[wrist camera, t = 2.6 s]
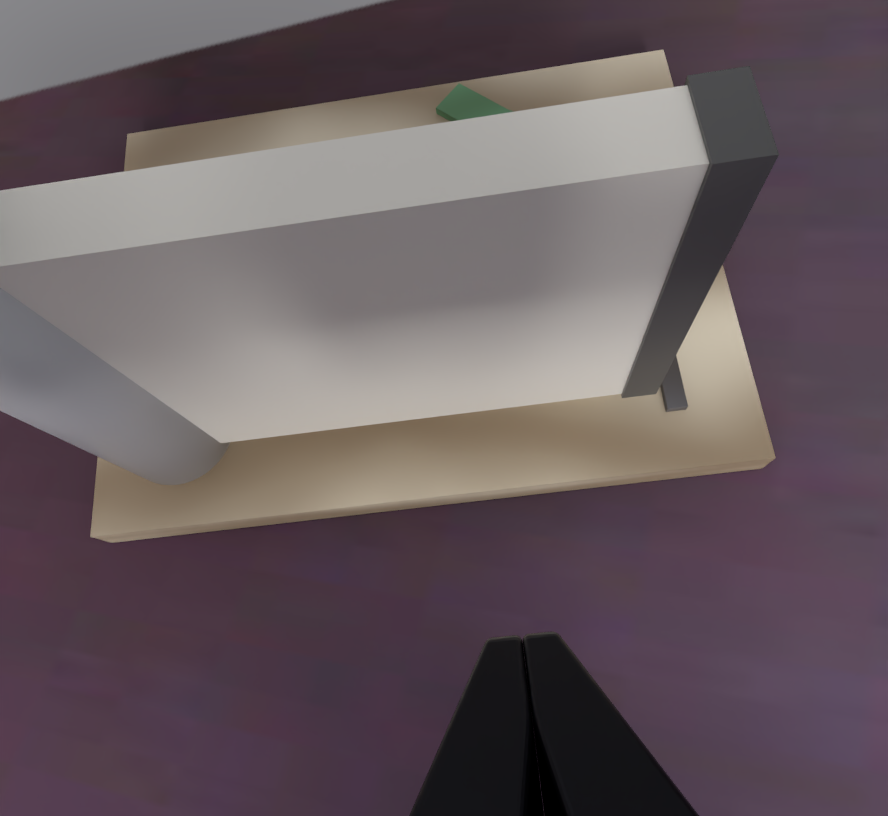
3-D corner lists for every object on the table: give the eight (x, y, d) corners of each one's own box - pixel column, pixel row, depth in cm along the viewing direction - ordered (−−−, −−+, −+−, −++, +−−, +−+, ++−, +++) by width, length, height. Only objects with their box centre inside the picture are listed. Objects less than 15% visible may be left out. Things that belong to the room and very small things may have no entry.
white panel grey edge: (121, 491, 21) (-332, 306, 10) (129, 385, 22) (-265, 114, 11) (659, 426, 20) (836, 135, 9) (636, 319, 21) (763, -56, 10)
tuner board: (762, 468, 21) (779, 454, 20) (111, 542, 22) (84, 535, 21) (657, 75, 27) (664, 42, 25) (143, 154, 28) (123, 128, 27)
